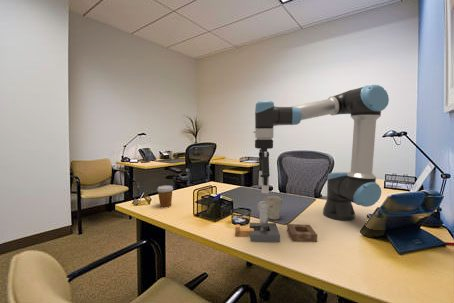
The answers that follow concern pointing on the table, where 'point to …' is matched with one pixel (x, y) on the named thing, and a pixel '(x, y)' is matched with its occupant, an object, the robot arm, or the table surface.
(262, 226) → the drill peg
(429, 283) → the table surface
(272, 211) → the mug
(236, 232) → the wooden block
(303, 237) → the block
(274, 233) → the socket block
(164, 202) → the disposable coffee cup
